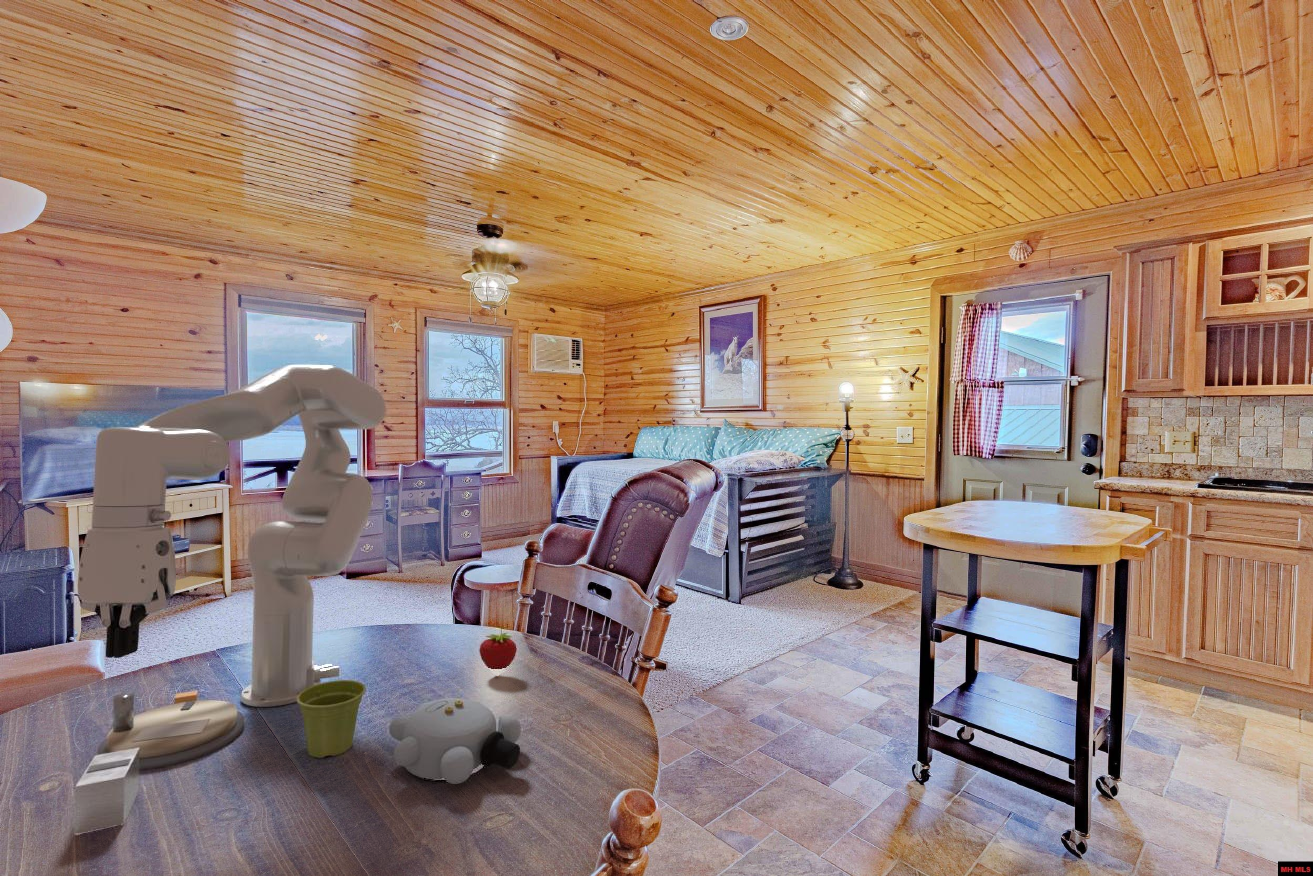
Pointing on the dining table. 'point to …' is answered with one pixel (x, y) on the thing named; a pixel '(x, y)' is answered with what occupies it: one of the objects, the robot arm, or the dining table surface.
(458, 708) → the grey toy figure
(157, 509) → the robot arm
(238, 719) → the turntable base
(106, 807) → the link block
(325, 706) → the plant pot
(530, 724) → the dining table surface
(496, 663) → the strawberry
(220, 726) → the turntable
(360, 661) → the dining table surface
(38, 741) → the dining table surface
